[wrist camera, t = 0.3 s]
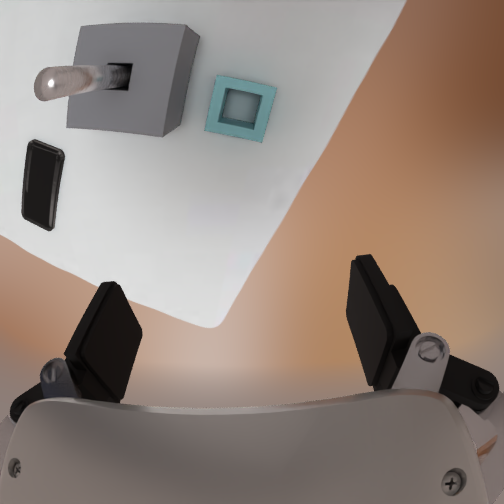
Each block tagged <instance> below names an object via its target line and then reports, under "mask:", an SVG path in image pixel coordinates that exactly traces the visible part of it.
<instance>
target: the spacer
mask: <svg viewBox="0 0 504 504" xmlns="http://www.w3.org/2000/svg"><path fill="white" fill-rule="evenodd" d="M229 88H231V89H236V90H241V91H246V92H250V93H255V94H259V95H261V97H260V100H259V104H258V108H257V112H256V116H255V120H254V123H249V122H244V121H240V120H235V119H230V118H225V117H222V114H223V110H224V105H225V101H226V97H227V93H228V89H229ZM276 90H277V88H275V87H272V86H267V85H263V84H259V83H255V82H250V81H246V80H241V79H236V78H231V77H225V76H220V75H217V77H216V81H215V85H214V89H213V94H212V98H211V102H210V107H209V111H208V116H207V121H206V126H205V130H204V131H209V132H214V133H220V134H225V135H230V136H235V137H239V138H244V139H248V140H253V141H257V142H261V143H262V141H263V137H264V134H265V130H266V126H267V123H268V119H269V115H270V112H271V108H272V104H273V101H274V97H275V93H276Z"/></svg>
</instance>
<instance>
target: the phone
mask: <svg viewBox="0 0 504 504" xmlns="http://www.w3.org/2000/svg"><path fill="white" fill-rule="evenodd" d="M64 159H65V154H64V152H63V151H62V150H61V149H58V148H56V147H53V146H51V145H48V144H46V143H43V142H41V141H38V140H35V139H34V140H32V141H30V142H29V143H28V146H27V153H26V160H25V169H24V179H23V191H22V210H21V213H22V216H23V218H24V219H25V220H27V221H29V222H31V223H33V224H35V225H37V226H39V227H41V228H43V229H45V230H47V231H51V230H52V229H53V228H54V227H55V218H56V209H57V201H58V194H59V187H60V181H61V175H62V170H63V164H64Z"/></svg>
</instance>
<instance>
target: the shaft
mask: <svg viewBox="0 0 504 504" xmlns="http://www.w3.org/2000/svg"><path fill="white" fill-rule="evenodd" d="M131 72H132V67H130V66H119V65H79V66H59V67H48V68H45V69H43V70H42V71H41V72H40V73H39V74H38V75H37V77H36V80H35V83H34V92H35V95H36V97H37V98H38V99H39V100H41V101H48V100H52V99H56V98H61V97H65V96H70V95H75V94H80V93H85V92H91V91H96V90H103V89H109V88H116V87H124V86H128V85H129V83H130V78H131Z"/></svg>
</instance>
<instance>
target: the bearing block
mask: <svg viewBox="0 0 504 504" xmlns="http://www.w3.org/2000/svg"><path fill="white" fill-rule="evenodd" d="M199 37H200V36H199V35H198V34H196V33H195V32H194V31H193V30H192V29H190V28H189V27H188V26H187V25H182V24H166V23H114V24H99V25H88V26H81V28H80V32H79V37H78V42H77V46H76V52H75V57H74V63H73V66H79V65H119V66H130V67H132V72H131V78H130V83H129V85H128V86H124V87H116V88H109V89H103V90H96V91H91V92H85V93H80V94H75V95H70V96H69V100H68V111H67V126H66V128H78V129H93V130H105V131H115V132H125V133H133V134H142V135H149V136H157V137H164V136H165V135H166V134H168V133H169V132H171V131H172V130H174V129H175V128H177V127H178V126H180V123H181V117H182V112H183V107H184V102H185V97H186V92H187V87H188V83H189V78H190V74H191V69H192V65H193V61H194V57H195V53H196V49H197V45H198V41H199Z"/></svg>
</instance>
